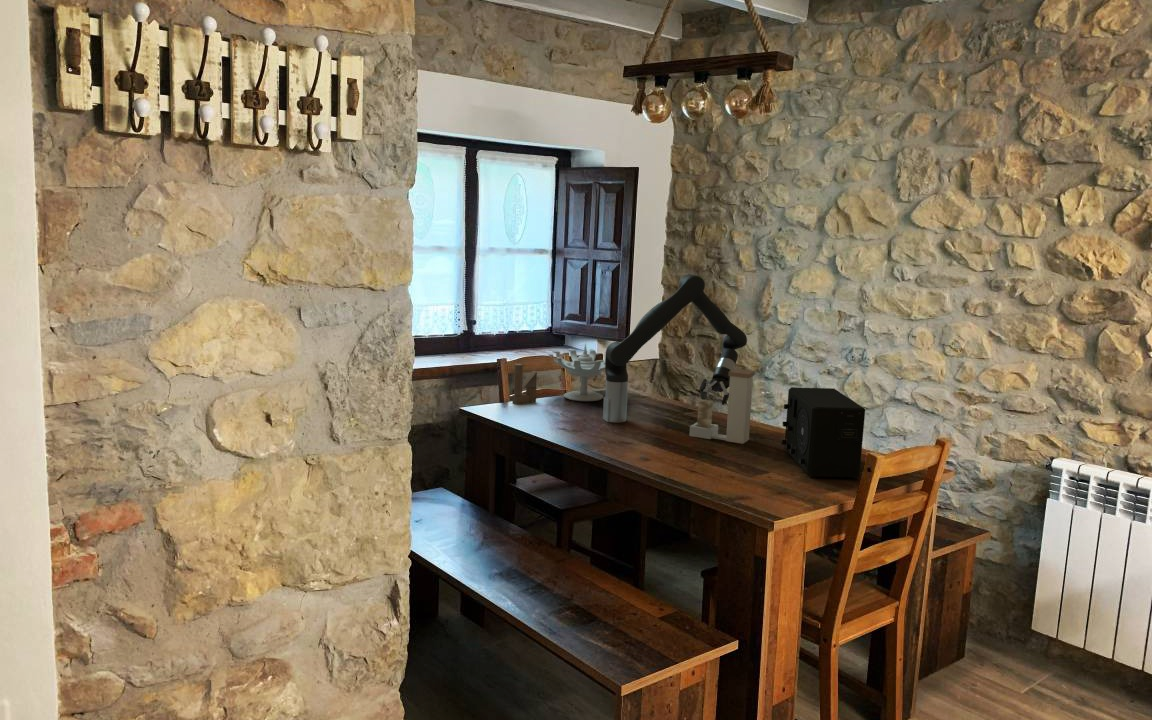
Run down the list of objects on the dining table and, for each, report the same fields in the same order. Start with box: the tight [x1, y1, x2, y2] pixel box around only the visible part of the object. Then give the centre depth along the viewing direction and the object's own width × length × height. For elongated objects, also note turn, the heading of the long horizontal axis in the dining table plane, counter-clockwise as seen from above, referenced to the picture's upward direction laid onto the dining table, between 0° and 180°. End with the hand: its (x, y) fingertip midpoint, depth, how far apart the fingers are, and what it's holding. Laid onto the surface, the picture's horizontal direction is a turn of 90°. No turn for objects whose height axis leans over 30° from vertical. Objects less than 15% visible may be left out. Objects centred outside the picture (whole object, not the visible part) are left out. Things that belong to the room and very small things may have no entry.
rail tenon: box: [696, 399, 714, 428], centre depth 355 cm, size 4×4×14 cm
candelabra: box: [547, 341, 605, 402], centre depth 417 cm, size 34×35×27 cm
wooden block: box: [512, 363, 538, 405], centre depth 404 cm, size 4×11×18 cm, turn 126°
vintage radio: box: [780, 386, 866, 479], centre depth 318 cm, size 38×20×25 cm, turn 1°
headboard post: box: [689, 368, 756, 445], centre depth 351 cm, size 22×9×28 cm, turn 62°
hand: (712, 402), depth 365 cm, fingers open, 8 cm apart
